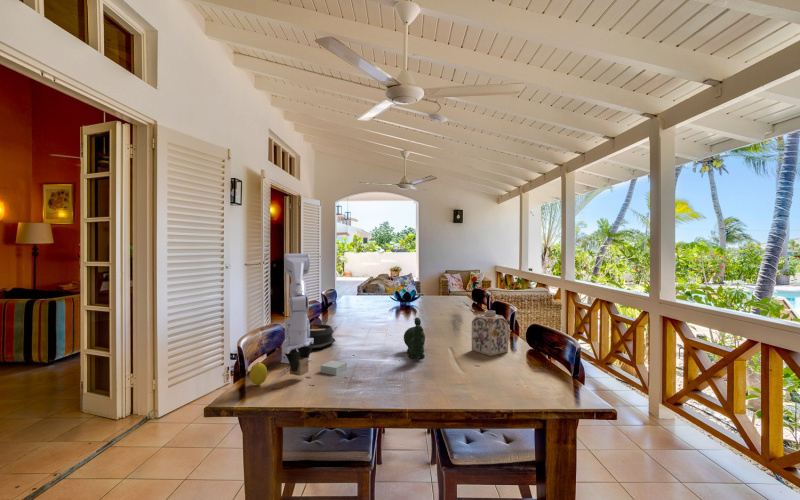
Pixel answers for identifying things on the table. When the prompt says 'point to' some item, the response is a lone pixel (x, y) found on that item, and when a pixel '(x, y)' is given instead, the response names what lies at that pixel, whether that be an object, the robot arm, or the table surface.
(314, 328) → the casserole
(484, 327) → the decorative jar
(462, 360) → the table surface
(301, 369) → the walnut block
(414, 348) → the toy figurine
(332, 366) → the grey block
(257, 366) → the lemon
